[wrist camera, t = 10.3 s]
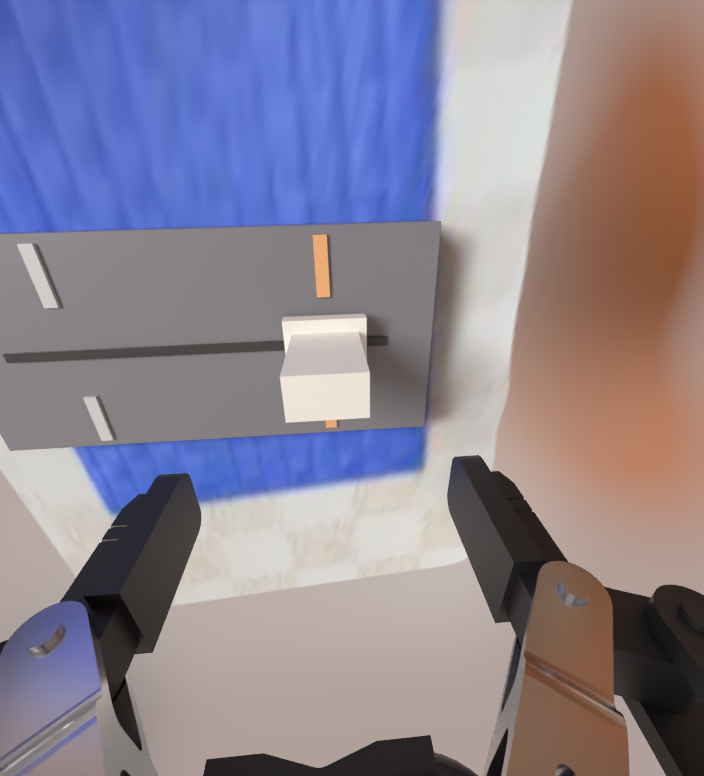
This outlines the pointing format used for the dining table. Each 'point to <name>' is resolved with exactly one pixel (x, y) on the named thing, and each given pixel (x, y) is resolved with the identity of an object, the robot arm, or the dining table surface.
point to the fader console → (202, 327)
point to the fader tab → (325, 368)
